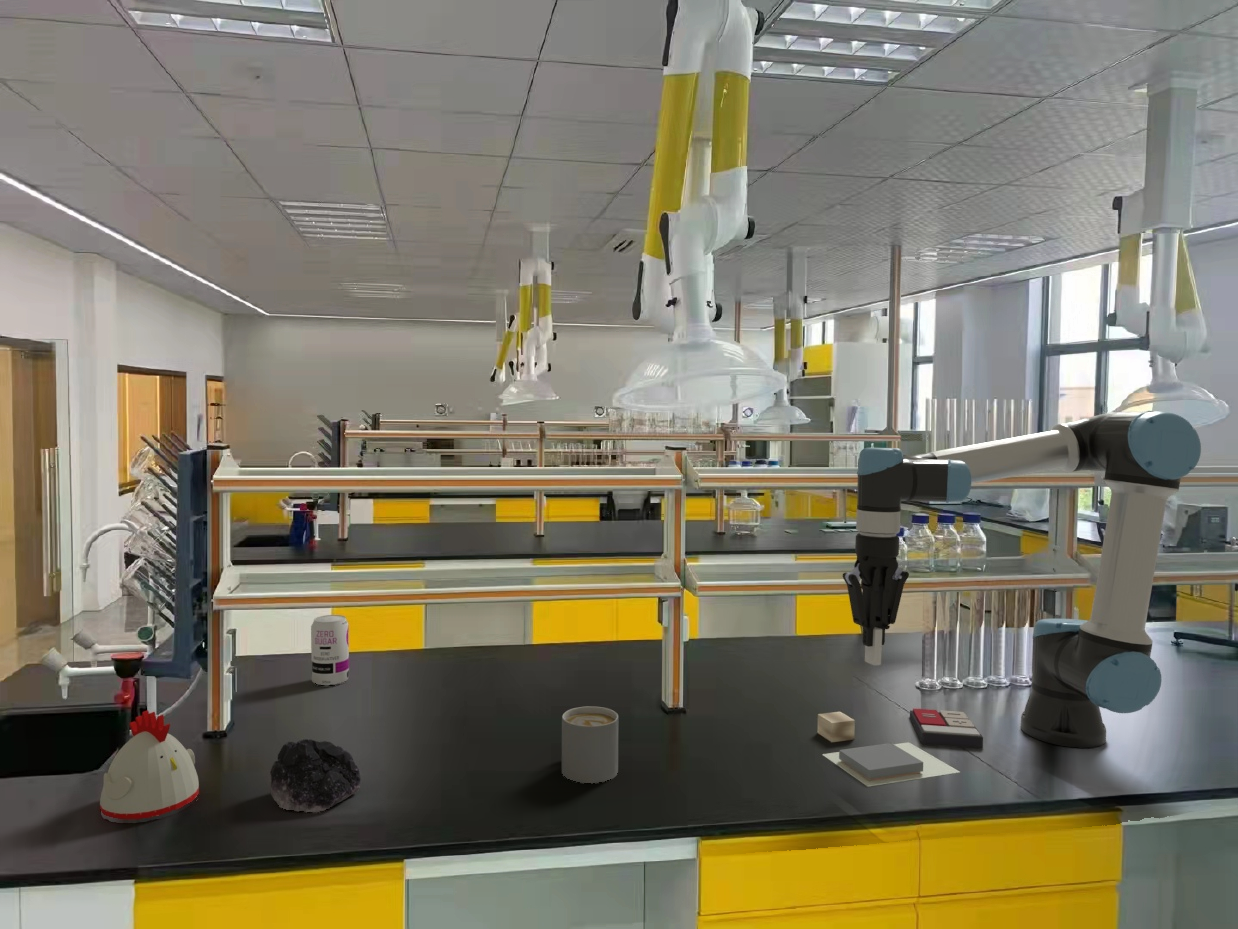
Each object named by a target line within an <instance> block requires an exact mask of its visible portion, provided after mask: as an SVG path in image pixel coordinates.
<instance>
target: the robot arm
mask: <svg viewBox="0 0 1238 929" xmlns="http://www.w3.org/2000/svg"><path fill="white" fill-rule="evenodd" d="M1201 454H1202V443H1201V439H1200V436H1199V434H1198V432H1197V430H1196V429H1195V428H1194V426H1192V424H1191V423H1190V422H1189V421H1188V420H1187V419H1186V418H1184V417H1183V416H1181V415H1179V414H1177V413H1176V414H1175V413H1173V412H1167V411H1165V412H1164V411H1159V410H1146V411H1143V410H1142V411H1111V412H1107V413H1102V414H1097V415H1094V416H1090V417H1085V418H1081V419H1077V420H1074V421H1070V422H1063V423H1058V424H1056V425H1054V427H1052V429H1051V430H1050V431H1049V430H1048V431H1043V432H1037V433H1032V434H1031V433H1030V434H1025V435H1019V436H1015V437H1009V438H1003V439H999V440H991V441H987V442H986V441H985V442H981V443H980V442H979V443H974V444H969V445H963V446H957V447H951V448H945V449H940V450H934V451H930V452H923V453H917V454H911V455H907V454H903V450H902V449H900V448H897V447H865V448H862V449H861V450H860V453H859V456H858V465H857V472H856V475H857V489H856V490H857V491H856V492H857V495H856V496H857V497H856V499H857V500H856V503H857V504H856V520H855V521H856V522H855V523H856V524H855V529H856V531H857V532H859V533H857V534H856V535H855V541H854V542H855V543H854V544H855V545H854V546H855V549H854V551H855V552H854V553H855V555H856V560H855V563H854V564H853V565H854V568H853V569H851V570H850V571H849V572H846V571H845V572H843V573H842V578H843V580H844V582H845V584H846V586H847V592H848V593H847V594H848V599H849V604H850V611H851V616H852V621H853V623H854V624H856V625H857V626H861V627H862V645H863V646H865V647H864V662H865V663H867V664H869V665H871V666H882V653H883V652H882V648H883V646H885V642H886V630H889V629H890V627H891V625H894V624H895V623H896V620H897V616H898V612H899V607H900V602H901V598H902V595H903V590H904V585H905V584H906V581H907V580H908V578H909V576H910V573H909V572H908V571H906V570H903V569H902V568H900V567H899V562H898V560H897V557H898V556H899V555H900V536H898V535H897V534H899V533H900V532H901V509H902V506H901V505H902V502H911V501H912V502H933V503H935V502H938V503H939V502H940V503H942V502H943V503H946V504H949V503H953V502H954V503H955V502H956V503H958V502H963V501H965V500H966V499H967V498H968V496H969V495H970V492H971V489H972V485H973V484H978V483H985V482H992V481H997V480H1001V479H1006V478H1007V479H1008V478H1014V477H1019V476H1023V475H1025V476H1026V475H1030V474H1036V473H1042V472H1043V473H1044V472H1049V471H1054V470H1061V471H1062V472H1064V473H1072V472H1079V471H1094V472H1095V471H1097V472H1104V478H1103V482H1104V483H1105V485H1106V486H1107V487H1108V488H1109V490H1110V492H1111V495H1110V500H1109V505H1108V511H1107V512H1108V513H1107V518H1106V523H1105V530H1104V536H1103V543H1102V548H1101V555H1100V560H1099V565H1098V566H1099V567H1098V572H1097V578H1096V584H1095V591H1094V596H1093V601H1092V607H1091V608H1092V609H1091V614H1090V619H1089V620H1085V619H1078V618H1077V619H1074V618H1044V619H1043V618H1042V619H1039V620H1037V621H1036V622H1035V625H1034V627H1033V628H1034V629H1033V635H1032V640H1033V644H1032V667H1031V668H1032V669H1031V671H1032V674H1031V692H1030V694H1029V696H1028V699H1027V702H1026V704H1025V707H1024V710H1023V711H1022V714H1021V715H1020V729H1021V731H1022V732H1024V733H1025V734H1026V735H1027V736H1030V737H1031V738H1034V739H1036V740H1039V741H1042V742H1044V743H1049V744H1052V745H1057V746H1062V747H1070V748H1077V749H1079V748H1080V749H1081V748H1082V749H1083V748H1084V749H1089V748H1096V747H1101V746H1103V745H1105V744H1106V742H1107V728H1106V725H1105V724H1104V720H1103V717H1102V713H1101V712H1102V711H1101V710H1100V708H1102V709H1105V710H1108V711H1109V712H1113V713H1117V714H1131V713H1132V714H1133V713H1136V712H1138V711H1140V710H1142V709H1143V708H1145V707H1147V706H1148V705H1151V704H1152V702H1153V701H1154V700H1155V699H1156V697H1157V695H1158V694H1159V692H1160V690H1161V686H1162V674H1161V673H1162V672H1161V670H1160V668H1159V667H1158V666H1157V663H1156V662H1155V660H1154V659H1153V658H1151V655H1152V649H1153V644H1154V643H1153V642H1154V641H1153V639H1152V638H1151V637H1150V635H1149V634H1148V633H1147V632H1146V630H1145V629H1146V624H1147V618H1148V612H1149V606H1150V601H1151V594H1152V588H1153V583H1154V582H1153V581H1154V579H1155V578H1154V576H1155V570H1156V565H1157V561H1158V560H1157V558H1158V553H1159V548H1160V542H1161V536H1162V535H1161V534H1162V529H1163V523H1164V518H1165V517H1164V516H1165V513H1166V505H1167V500H1168V499H1169V498H1170V497H1172V496H1173V495H1174V494H1176V493H1178V492H1179V490H1180V485H1181V480H1182V478H1183V477H1185V476H1187V475H1189V474H1190V472H1191V471H1192V470H1194V469H1195V468H1196V466H1197V465H1198V463H1199V461H1200V457H1201Z"/></svg>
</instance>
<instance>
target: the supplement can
mask: <svg viewBox="0 0 1238 929" xmlns="http://www.w3.org/2000/svg"><path fill="white" fill-rule="evenodd" d="M349 631H350V630H349V622H348V620H347V618H346V616H345V615H340V614H326V615H320V616H317V617H315V618H314V619H313V622H312V624H311V626H310V634H311V636H310V637H311V638H310V643H311V644H310V645H311V646H310V648H311V650H310V651H311V652H310V653H311V654H310V656H311V681H312V683H313V684H315V683H316V684H321V685H330V684H337V683H341V682H344V681H348V679H349V678H350V659H349V658H350V654H349V653H350V649H349V648H350V642H349V640H350V638H349V637H350V636H349V635H350V634H349ZM344 683H345V682H344ZM316 684H315V685H316Z"/></svg>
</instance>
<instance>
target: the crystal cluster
mask: <svg viewBox="0 0 1238 929" xmlns="http://www.w3.org/2000/svg"><path fill="white" fill-rule="evenodd" d="M361 778H362V777H361V774H360V769H359V767H358V765H357V764H356V762H355V760H354V758H353V755H352V754H351V753H349V752H348V751H347V750H346V749H344V748H343V747H341V746H339V745H337V746H336V745H335V744H334V743H332V742H331V741H326V740H325V741H324V740H323V741H321V740H320V741H317V740H313V739H311V738H304V739H299V740H298V741H297V742H294V741H288V742H285V744H283V745H282V746H281V749H280V750H279V752H278V754H277V760H276V761H274V762H273V764H272V766H271V769H270V788H271V789H270V795H271V797H272V798H273V800H274V801H275V802H276V804H277V805H279V806H278V807H279V808H280V809H282V808H283V809H282V810H284V809H286V810H294V811H293V812H299V811H304V812H303V813H307V812H315V811H319V810H324V809H325V810H326V809H328V810H330V809H331V808H333V806H335V805H336V804H338V803H341V802H343V801H344V800H346V799H348V798H350V796H352V795H355V794H356V793H358V791H359V790H360V789H361V788H360V783H361ZM330 807H331V808H330ZM326 811H327V810H326Z"/></svg>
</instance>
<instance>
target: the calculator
mask: <svg viewBox="0 0 1238 929" xmlns="http://www.w3.org/2000/svg"><path fill="white" fill-rule="evenodd" d="M909 718H910V721H911V724H912V725H913V727H914V730H915V733H916V734H917V735H918V736H917V737H918V739H919V740H920V743H921V744H922V745H929V746H942V747H954V748H964V749H965V748H968V749H979V750H980V749H981V750H982V749H983V748H984V737H983V735H982V734H981V733H980V731H979V730H978V729H977V727H976V726H975V725H974V723H973V722H972V721H971V719H970V718H969V717H968V715H967V714H966V713H965V712H964V711H954V710H944V709H943V710H942V709H940V710H939V711H938V710H936V709H928V708H927V709H925V708H912V710H910V711H909Z"/></svg>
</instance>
